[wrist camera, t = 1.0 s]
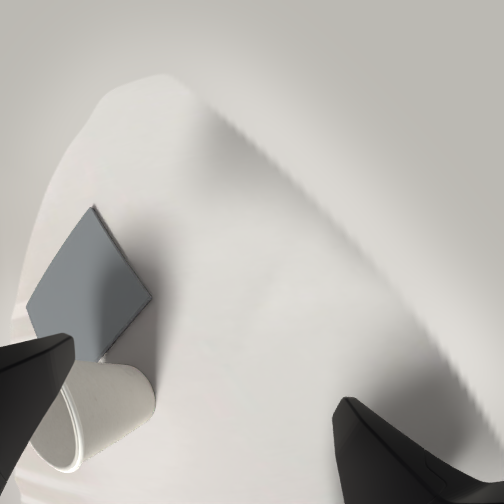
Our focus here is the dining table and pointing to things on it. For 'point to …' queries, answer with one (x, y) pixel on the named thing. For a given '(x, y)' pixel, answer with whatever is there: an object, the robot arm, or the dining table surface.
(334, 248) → the dining table surface
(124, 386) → the dixie cup
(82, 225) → the mat
